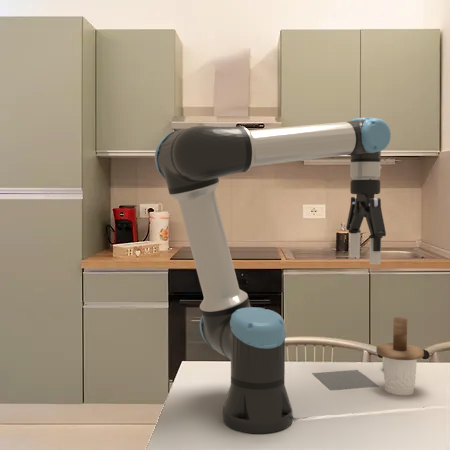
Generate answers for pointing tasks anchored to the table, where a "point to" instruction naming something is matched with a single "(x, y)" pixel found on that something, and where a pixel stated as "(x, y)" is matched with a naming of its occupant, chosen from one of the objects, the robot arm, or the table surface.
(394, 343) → the walnut lid
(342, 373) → the mat
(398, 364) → the white cup
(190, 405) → the table surface
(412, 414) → the table surface
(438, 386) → the table surface
